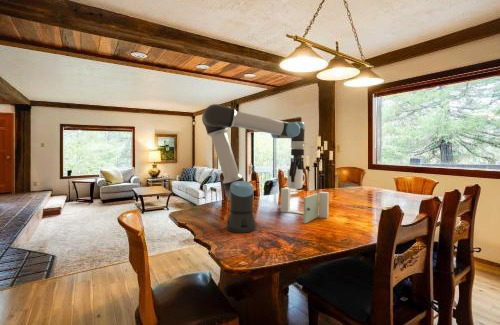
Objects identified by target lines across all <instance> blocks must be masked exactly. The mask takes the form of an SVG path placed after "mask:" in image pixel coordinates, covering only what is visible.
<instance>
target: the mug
mask: <svg viewBox="0 0 500 325" xmlns="http://www.w3.org/2000/svg"><path fill="white" fill-rule="evenodd" d="M289 172H290V168H289V169H287V188H288V189H290V190H291V189H292V190H300V189H302V188H303V186H302V185H304V184H305V182H306V174H304V173H305V172H304V173H303V170H301V169H298V168H297V170H296V174H295V176H296V188H291V176H289ZM302 177H303V182H302Z"/></svg>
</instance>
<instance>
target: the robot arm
mask: <svg viewBox="0 0 500 325" xmlns="http://www.w3.org/2000/svg"><path fill="white" fill-rule="evenodd" d="M201 117H202V118H201V120H202V124H203V126H204V127H205V130H206V134H207V135H208V136H210V138H211V140H212V143H213V146H214V150H215V153H216V155H217V160H218V163H219V166H220V169H221V172H222V175H223V179H222V184H223V187H224V194H225V197H226V198H227V199H228V200H229V201H230V202H229V210H230V211H229V212H230V213H229V216H228V219H227V223H226V230H227V231H228V232H231V233H241V234H243V233H251V232H255V231H256V230H257V222H256V218H255V216H254V192H255V191H254V185H253V183H251V182H249V181H245V180H244V176H243V175H241V174H240V172H239V168H238V165H237V163H236V158H235V156H234V152H233V149H232V145H231V143H230V140H229V135H228V133H227V132H228V130H229V128H233V127H235V128H239V129H240V128H241V129H245V130H251V131H254V132H260V133H267V134H271V138H272V139H291V140H290V143H291V144H290V148H291V149H290V155H291V156H293V157H291V158H290V167H289V169H290V172H289V176H291V188H296V176H295V174H296V170H297V169H301V170H303V173H304V174H305V165H304V164H305V163H304V159H305V158H304V157H303V156H305V149H304V148H305V144H306V143H305V131H306V129H305V128H306V126H305V123H304V122H303V121H293V122H292V121H291V122H289V121H288V122H287V121H284V120H279V119H274V118H269V117H264V116H260V115H256V114H252V113H245V112H241V111H237V110H236V108H233V107H229V106H226V105H221V104H219V103H216V104H215V103H214V104H211V105H208V106H207V108H205V110H204V111H203V113H202V116H201ZM305 175H306V174H305ZM303 181H304V176H303V177H302V182H303ZM303 185H304V184H303ZM303 185H302V187H304V186H303Z"/></svg>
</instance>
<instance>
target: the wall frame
mask: <svg viewBox="0 0 500 325" xmlns="http://www.w3.org/2000/svg"><path fill="white" fill-rule="evenodd" d="M318 192H319V196H318V218H323V219H328V218H329V212H330V211H329V206H330V204H329V203H330V192H327V191H318ZM280 212H283V213H289V214H295V215H302V216H303V215H304V211H297V210H296V211H295V210H291V189H290V188H288V187H287V188H285V187H282V188H280Z"/></svg>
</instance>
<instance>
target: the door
mask: <svg viewBox="0 0 500 325" xmlns="http://www.w3.org/2000/svg"><path fill="white" fill-rule="evenodd" d="M319 192H320V191H318V190H317V191H316V193H313V194H311V195H308V196H304V197H303V212H304V215H302V216H303V220H302V223H303V224H307V223H309V222H310V221H313V220H314V219H316V218H319V217H318V215H319Z"/></svg>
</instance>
